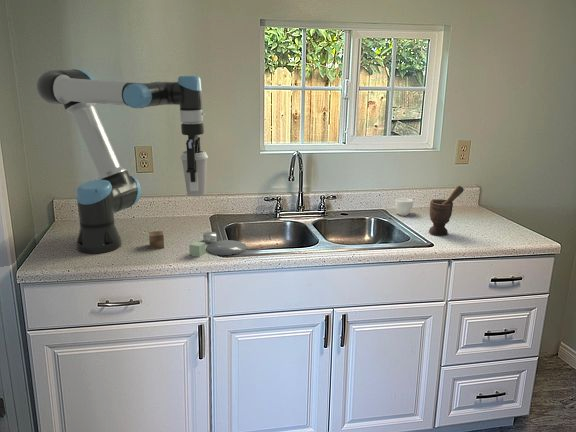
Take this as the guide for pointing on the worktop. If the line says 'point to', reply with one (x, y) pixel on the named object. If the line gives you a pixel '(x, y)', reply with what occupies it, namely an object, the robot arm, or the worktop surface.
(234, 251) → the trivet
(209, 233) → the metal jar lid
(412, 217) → the worktop surface
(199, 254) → the sage block
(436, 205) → the mortar and pestle
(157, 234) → the walnut block
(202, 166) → the coffee cup
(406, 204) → the cup
